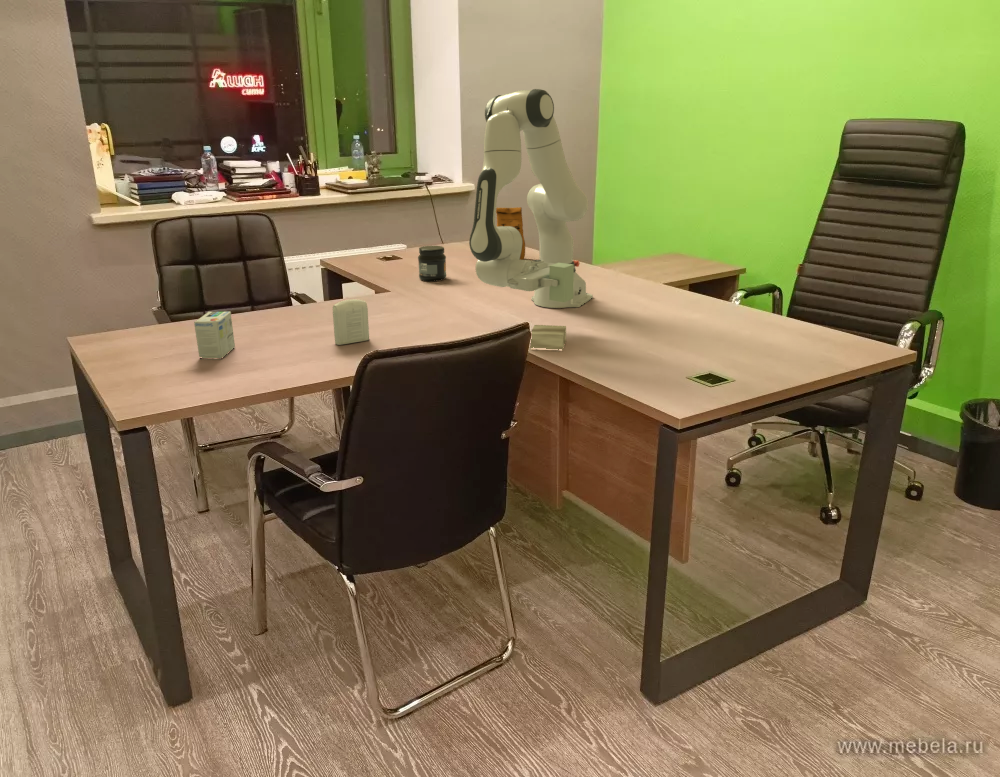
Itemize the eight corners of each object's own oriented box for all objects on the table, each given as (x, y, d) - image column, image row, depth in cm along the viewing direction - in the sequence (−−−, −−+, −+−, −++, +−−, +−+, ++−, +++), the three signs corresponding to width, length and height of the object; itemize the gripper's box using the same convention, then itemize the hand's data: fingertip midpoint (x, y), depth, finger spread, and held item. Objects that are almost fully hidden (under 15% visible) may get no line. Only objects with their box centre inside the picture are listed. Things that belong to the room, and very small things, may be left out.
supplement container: (446, 275, 317) (445, 244, 312) (446, 281, 307) (445, 250, 302) (419, 276, 316) (418, 245, 312) (418, 282, 306) (416, 250, 302)
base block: (534, 341, 234) (534, 324, 232) (565, 342, 233) (566, 326, 231) (530, 351, 226) (530, 333, 224) (562, 352, 224) (562, 334, 223)
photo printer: (365, 337, 239) (362, 295, 235) (371, 340, 236) (369, 298, 232) (332, 343, 234) (329, 301, 230) (338, 346, 231) (335, 304, 226)
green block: (558, 296, 239) (558, 262, 235) (573, 298, 236) (573, 264, 233) (549, 299, 235) (549, 265, 232) (564, 302, 232) (564, 267, 229)
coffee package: (525, 262, 339) (525, 208, 332) (495, 262, 340) (494, 208, 332) (525, 257, 349) (525, 205, 341) (496, 257, 349) (495, 205, 341)
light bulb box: (212, 347, 231) (207, 310, 227) (236, 347, 231) (231, 310, 227) (198, 359, 221) (192, 321, 217) (223, 359, 221) (217, 321, 217)
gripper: (503, 271, 232) (544, 277, 224) (542, 258, 247) (582, 263, 240) (503, 293, 234) (544, 299, 226) (542, 279, 250) (581, 284, 242)
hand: (564, 280), depth 233 cm, fingers closed on green block, 5 cm apart
